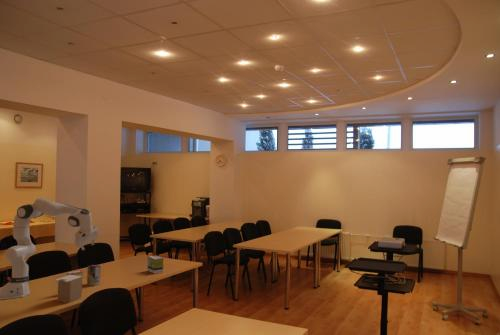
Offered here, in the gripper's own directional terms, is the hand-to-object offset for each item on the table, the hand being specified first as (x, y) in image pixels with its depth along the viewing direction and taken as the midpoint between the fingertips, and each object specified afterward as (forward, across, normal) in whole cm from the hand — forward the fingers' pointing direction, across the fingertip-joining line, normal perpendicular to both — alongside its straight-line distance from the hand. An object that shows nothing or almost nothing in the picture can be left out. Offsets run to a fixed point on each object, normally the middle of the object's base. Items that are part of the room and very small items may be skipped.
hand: (88, 247), depth 299 cm
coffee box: (+48, -17, -17) cm, 53 cm away
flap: (+19, +17, -4) cm, 26 cm away
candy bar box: (+41, +6, -13) cm, 43 cm away
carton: (+35, +20, -2) cm, 40 cm away
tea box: (+62, -76, +2) cm, 98 cm away
